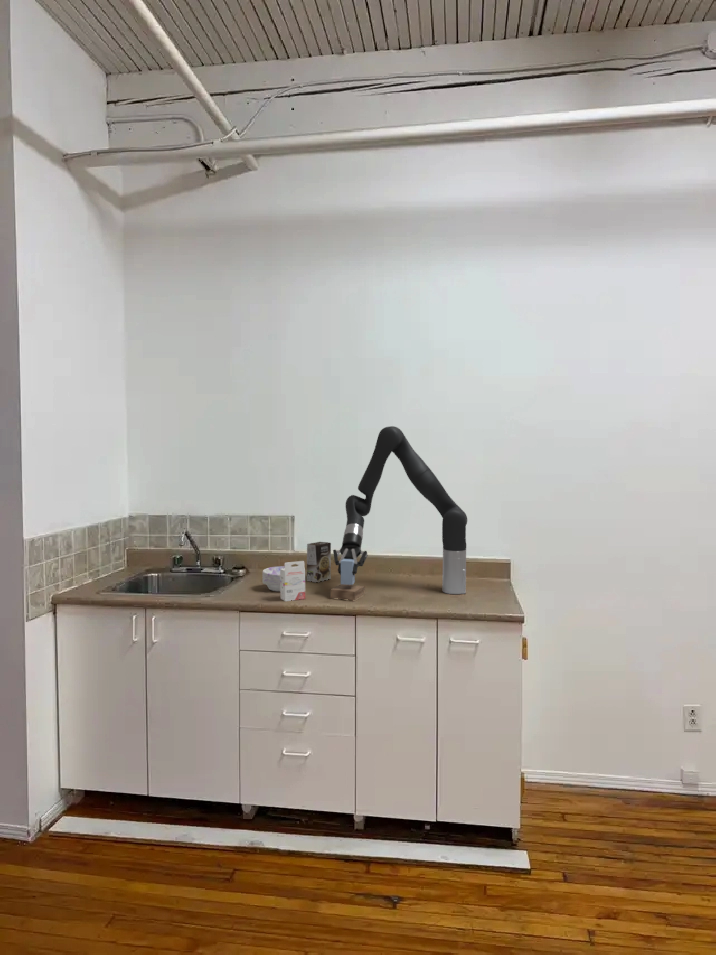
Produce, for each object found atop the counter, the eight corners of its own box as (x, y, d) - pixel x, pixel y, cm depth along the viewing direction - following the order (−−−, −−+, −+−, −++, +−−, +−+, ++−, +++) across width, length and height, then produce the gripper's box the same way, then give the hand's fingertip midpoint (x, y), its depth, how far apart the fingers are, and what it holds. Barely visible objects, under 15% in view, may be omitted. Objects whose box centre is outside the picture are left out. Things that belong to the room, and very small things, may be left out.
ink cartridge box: (300, 596, 260) (300, 558, 259) (305, 599, 255) (305, 560, 254) (279, 598, 256) (279, 560, 255) (284, 601, 251) (284, 562, 251)
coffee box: (317, 583, 283) (317, 545, 282) (306, 581, 287) (306, 543, 286) (331, 579, 290) (331, 542, 289) (320, 577, 294) (320, 540, 293)
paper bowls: (268, 594, 262) (268, 574, 261) (258, 586, 276) (257, 567, 275) (305, 591, 268) (305, 571, 268) (293, 583, 282) (293, 564, 282)
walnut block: (364, 596, 262) (364, 586, 261) (354, 602, 252) (354, 591, 252) (341, 594, 266) (341, 584, 265) (330, 599, 256) (330, 589, 256)
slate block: (354, 582, 261) (354, 559, 260) (352, 584, 256) (352, 561, 255) (343, 581, 261) (343, 558, 261) (340, 584, 257) (340, 561, 256)
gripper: (333, 531, 266) (327, 567, 255) (369, 532, 263) (364, 569, 252) (336, 542, 272) (330, 578, 261) (371, 543, 269) (366, 580, 258)
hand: (346, 573), depth 257 cm, fingers closed on slate block, 4 cm apart
